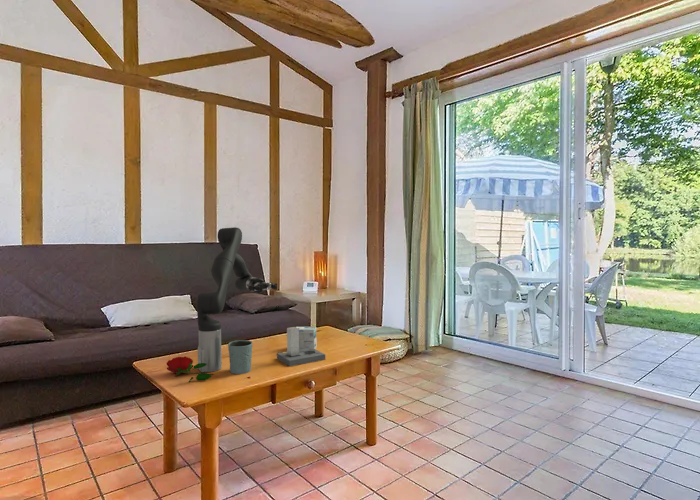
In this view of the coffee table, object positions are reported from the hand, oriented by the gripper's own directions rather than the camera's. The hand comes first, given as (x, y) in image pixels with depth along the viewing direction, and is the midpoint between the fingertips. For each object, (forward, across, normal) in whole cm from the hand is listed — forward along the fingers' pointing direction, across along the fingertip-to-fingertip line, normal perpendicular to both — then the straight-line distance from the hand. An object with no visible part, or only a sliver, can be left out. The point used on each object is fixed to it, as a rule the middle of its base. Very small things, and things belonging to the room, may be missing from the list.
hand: (267, 288), depth 206 cm
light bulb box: (+2, +19, +32) cm, 38 cm away
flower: (+16, -39, +32) cm, 54 cm away
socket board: (+17, +9, +32) cm, 37 cm away
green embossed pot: (+18, -20, +32) cm, 42 cm away
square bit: (+17, +5, +32) cm, 37 cm away
